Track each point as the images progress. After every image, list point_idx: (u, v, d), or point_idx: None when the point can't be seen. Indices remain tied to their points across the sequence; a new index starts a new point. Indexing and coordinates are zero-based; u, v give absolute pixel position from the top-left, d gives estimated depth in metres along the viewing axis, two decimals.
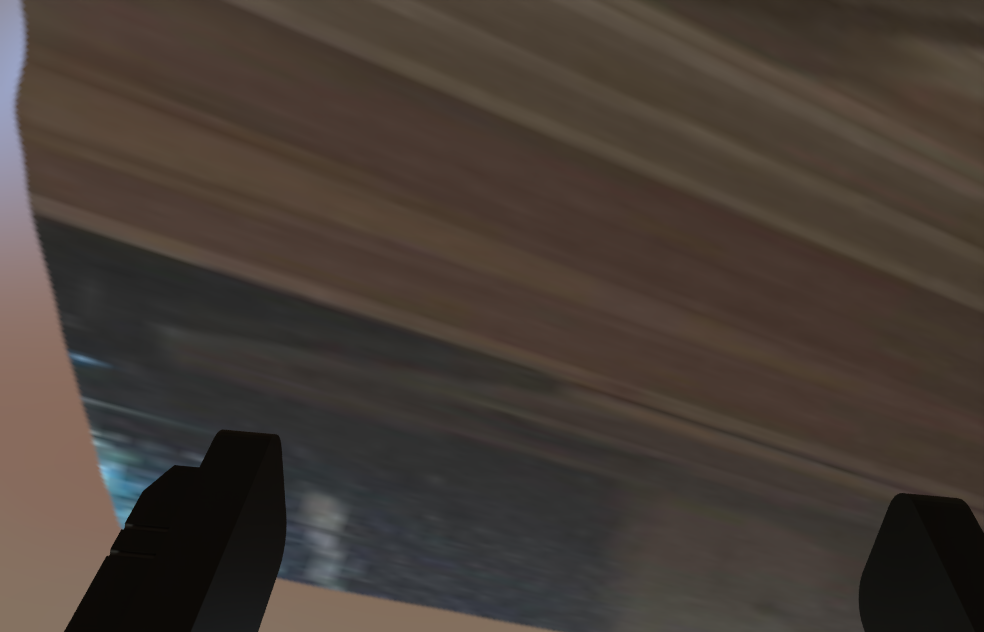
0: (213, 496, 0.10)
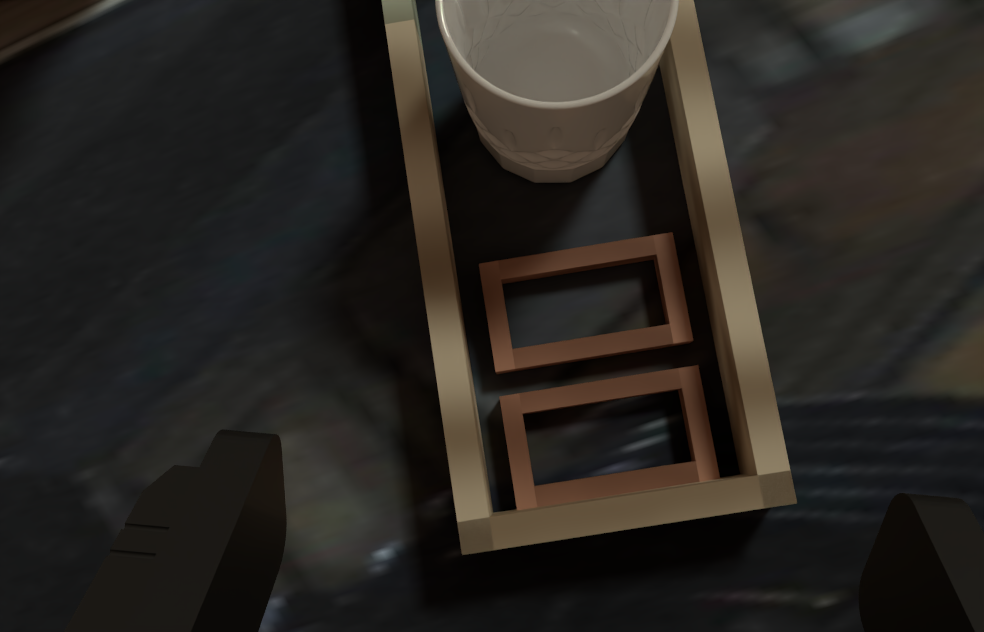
0: (213, 496, 0.10)
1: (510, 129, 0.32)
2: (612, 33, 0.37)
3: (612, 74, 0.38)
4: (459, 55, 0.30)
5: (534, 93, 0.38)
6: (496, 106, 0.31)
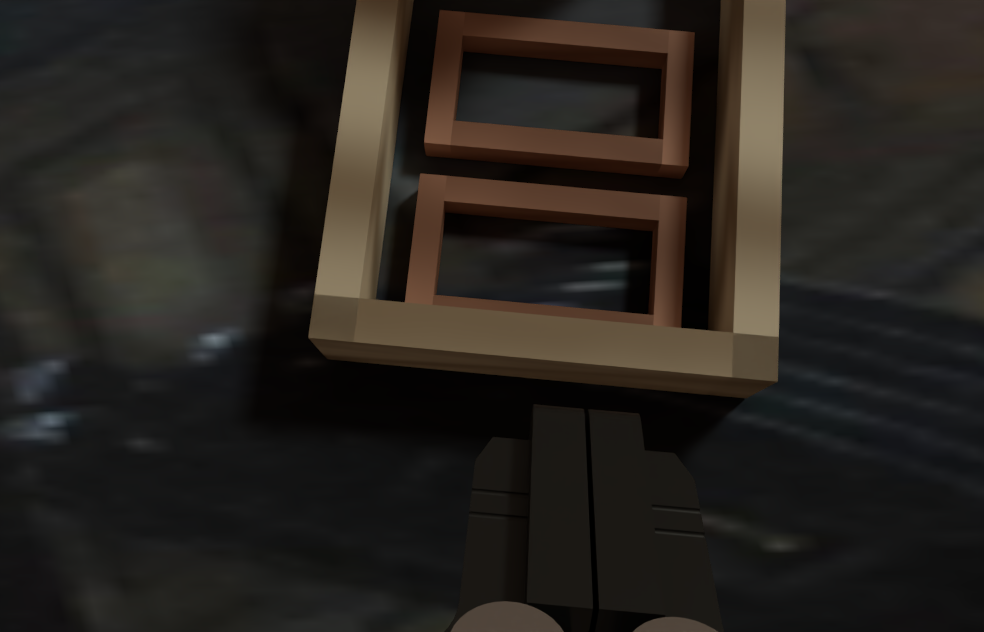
0: (556, 463, 0.11)
1: None
2: None
3: None
4: None
5: None
6: None
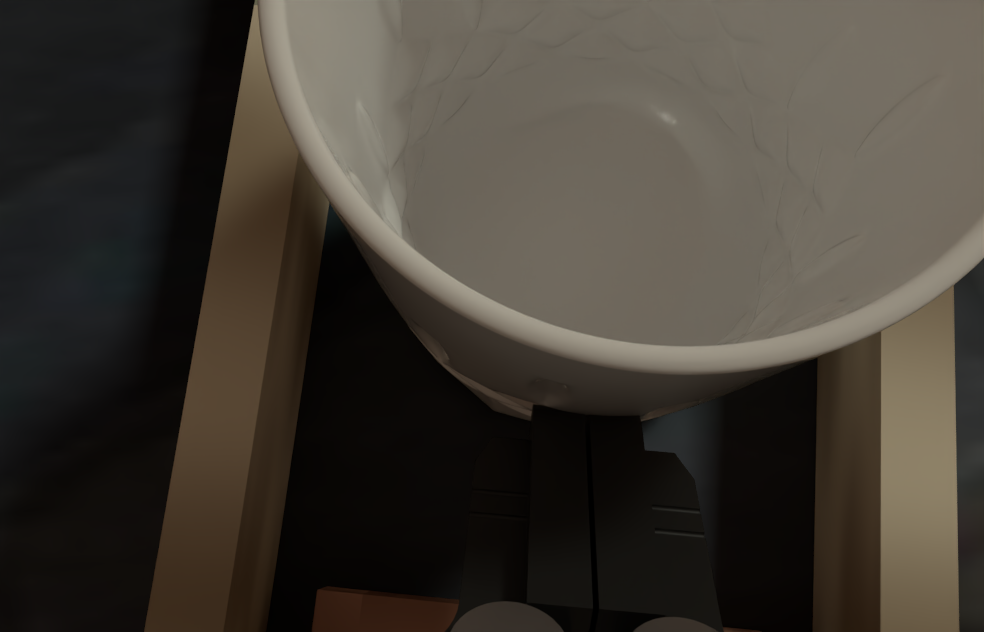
0: (557, 463, 0.11)
1: (428, 332, 0.11)
2: (750, 144, 0.16)
3: (724, 232, 0.17)
4: (290, 77, 0.09)
5: (543, 225, 0.17)
6: (382, 271, 0.09)
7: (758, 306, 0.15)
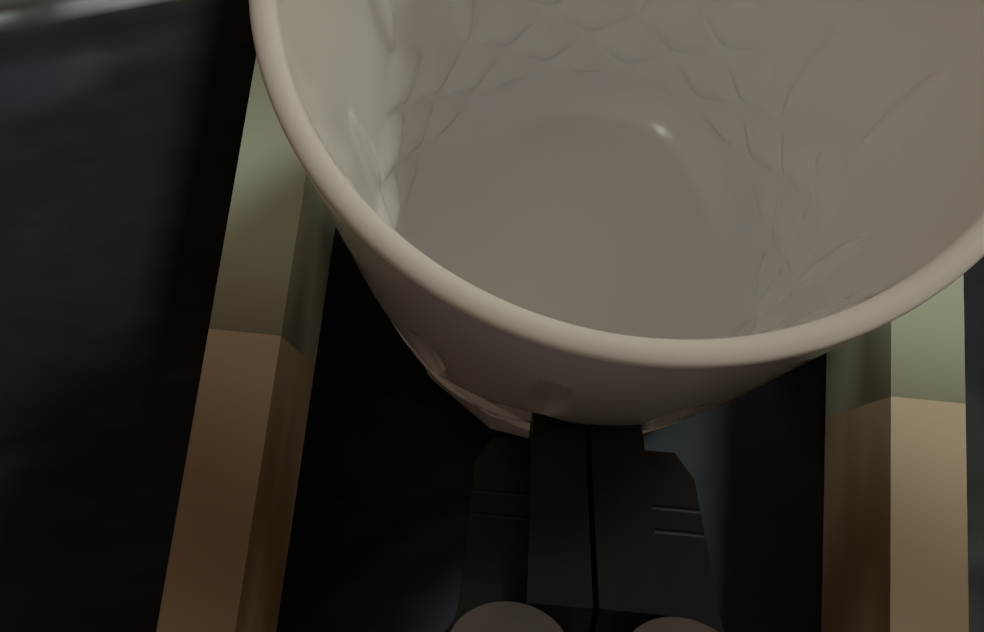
0: (557, 463, 0.11)
1: (425, 339, 0.11)
2: (745, 153, 0.16)
3: (720, 242, 0.16)
4: (282, 72, 0.08)
5: (538, 238, 0.17)
6: (378, 272, 0.09)
7: (757, 314, 0.14)
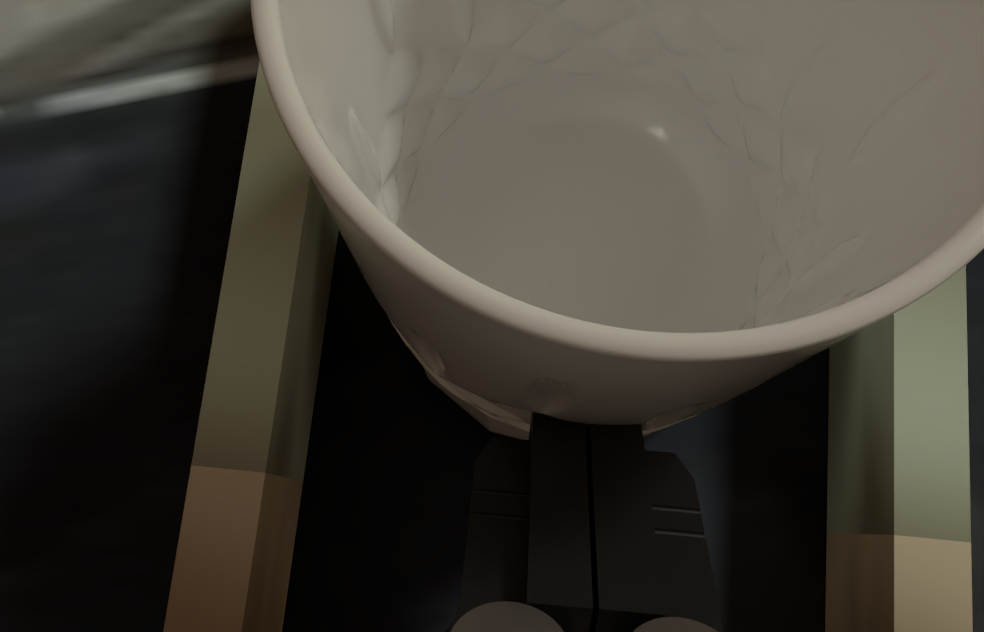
0: (556, 463, 0.11)
1: (425, 337, 0.11)
2: (744, 156, 0.16)
3: (719, 245, 0.16)
4: (283, 68, 0.08)
5: (538, 241, 0.17)
6: (378, 268, 0.09)
7: (757, 315, 0.14)
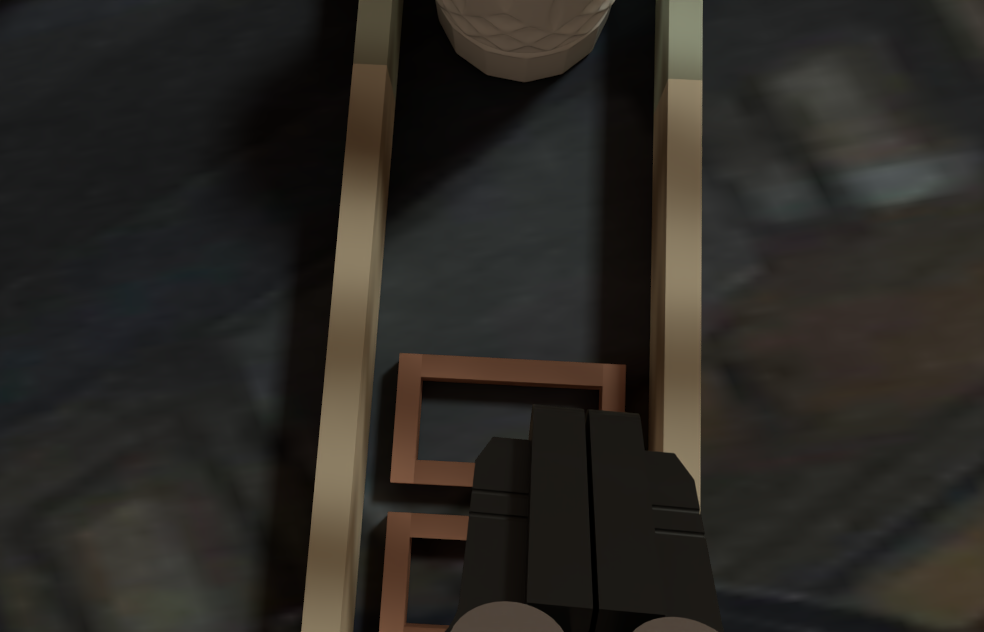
0: (557, 463, 0.11)
1: None
2: None
3: None
4: None
5: None
6: None
7: None
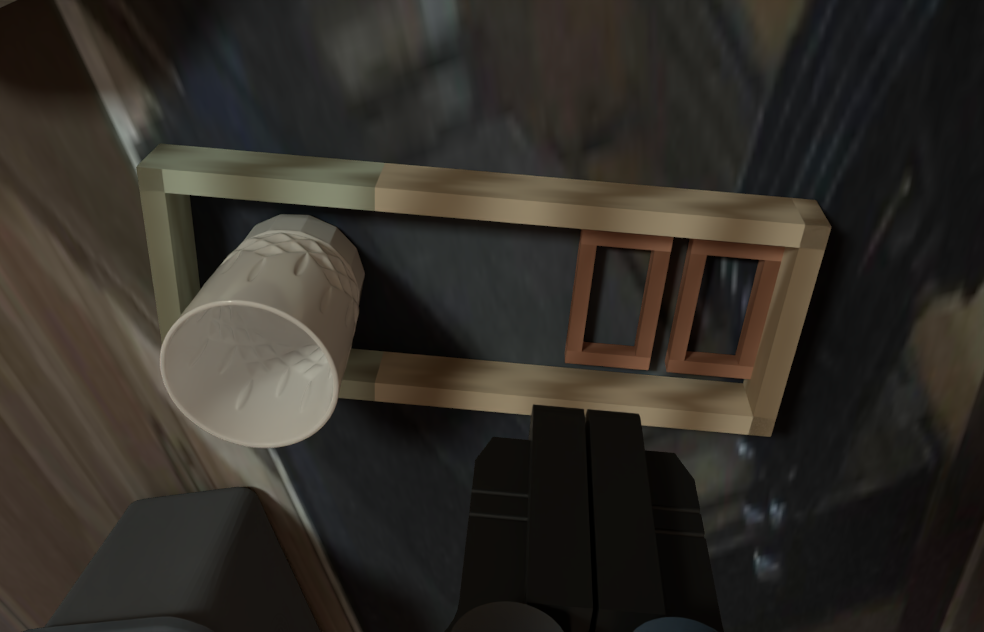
0: (557, 463, 0.11)
1: None
2: None
3: None
4: (288, 442, 0.42)
5: None
6: None
7: None
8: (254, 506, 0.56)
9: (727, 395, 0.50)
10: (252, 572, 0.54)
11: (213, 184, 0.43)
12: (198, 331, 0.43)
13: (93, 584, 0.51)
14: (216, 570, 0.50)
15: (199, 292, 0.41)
